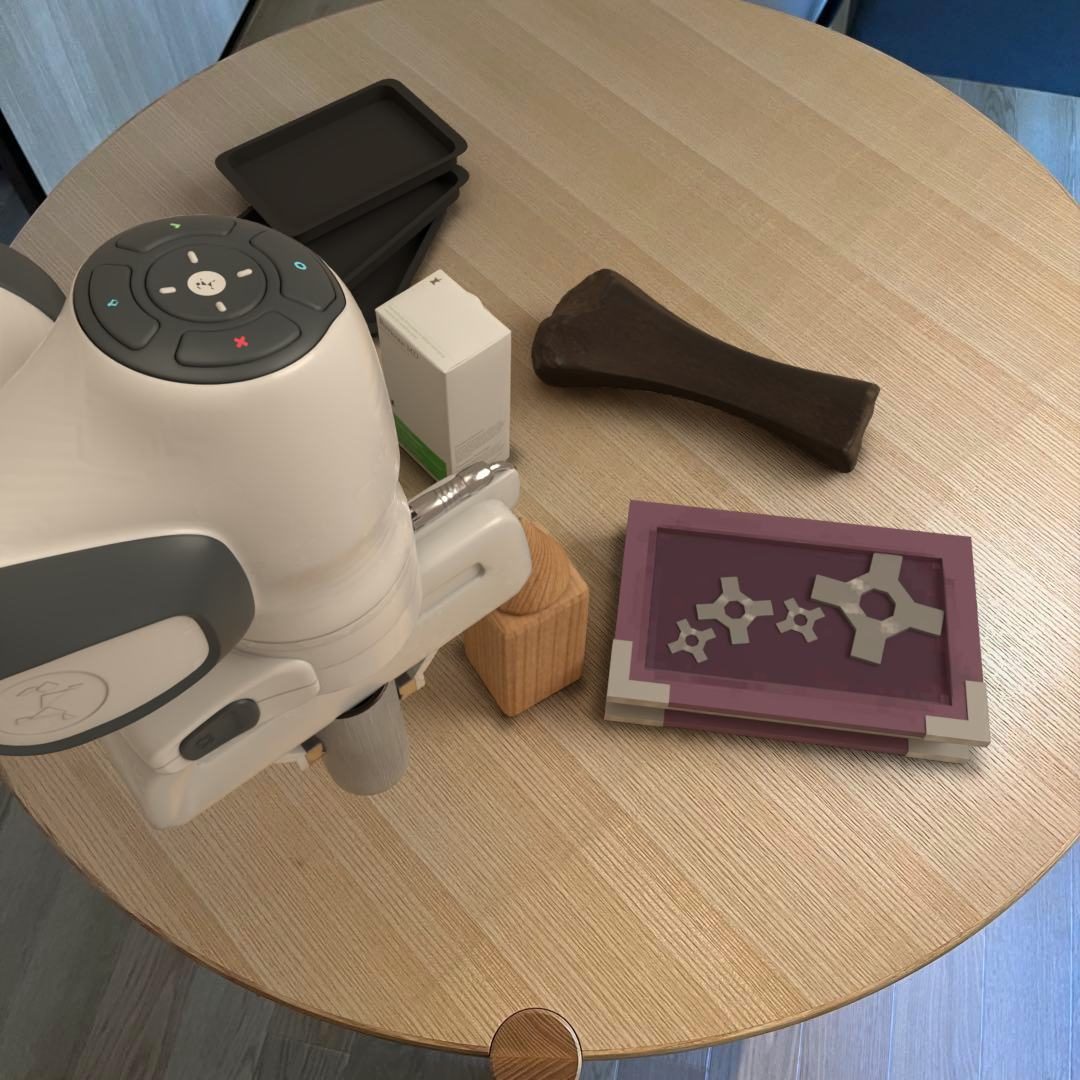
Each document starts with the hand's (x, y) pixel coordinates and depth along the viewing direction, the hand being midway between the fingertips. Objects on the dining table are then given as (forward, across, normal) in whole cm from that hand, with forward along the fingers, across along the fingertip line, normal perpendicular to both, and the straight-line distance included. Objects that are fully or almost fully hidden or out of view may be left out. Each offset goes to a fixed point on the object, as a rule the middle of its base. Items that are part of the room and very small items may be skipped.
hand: (354, 717), depth 56 cm
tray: (+23, -30, -53) cm, 65 cm away
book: (+23, -31, +5) cm, 39 cm away
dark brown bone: (+23, -42, -16) cm, 51 cm away
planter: (+5, 0, 0) cm, 5 cm away
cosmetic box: (+23, -23, -25) cm, 41 cm away
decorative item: (+23, -15, -6) cm, 28 cm away
